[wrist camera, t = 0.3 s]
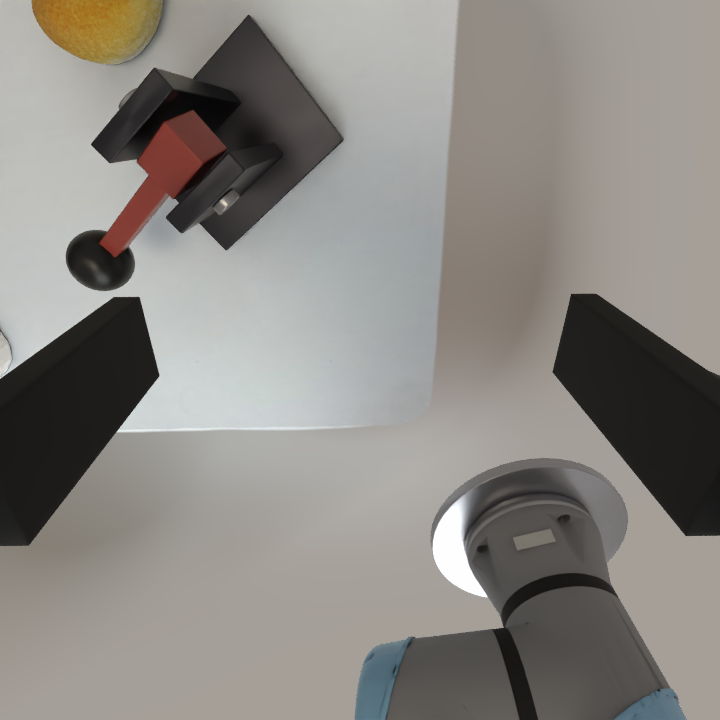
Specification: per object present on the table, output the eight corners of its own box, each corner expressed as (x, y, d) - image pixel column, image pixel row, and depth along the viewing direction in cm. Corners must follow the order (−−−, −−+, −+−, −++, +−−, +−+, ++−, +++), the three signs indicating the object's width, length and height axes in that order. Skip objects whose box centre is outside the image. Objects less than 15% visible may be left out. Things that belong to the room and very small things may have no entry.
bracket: (229, 247, 35) (164, 312, 23) (136, 151, 31) (-1, 167, 19) (344, 139, 31) (339, 148, 19) (252, 18, 28) (175, -65, 16)
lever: (132, 281, 30) (95, 311, 27) (85, 240, 28) (42, 267, 26) (244, 156, 22) (208, 181, 19) (188, 92, 21) (141, 109, 18)
